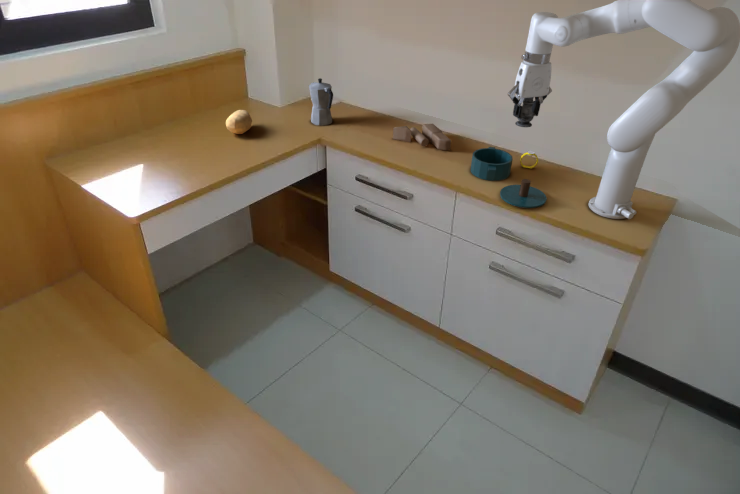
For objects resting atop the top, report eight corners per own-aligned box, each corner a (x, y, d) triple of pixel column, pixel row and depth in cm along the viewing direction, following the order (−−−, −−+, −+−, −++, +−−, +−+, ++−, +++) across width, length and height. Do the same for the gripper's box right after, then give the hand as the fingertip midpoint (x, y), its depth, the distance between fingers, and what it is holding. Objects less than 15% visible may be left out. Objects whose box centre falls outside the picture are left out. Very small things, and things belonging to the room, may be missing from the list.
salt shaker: (533, 128, 163) (541, 91, 156) (514, 126, 164) (521, 89, 157) (532, 121, 168) (540, 85, 161) (514, 120, 169) (521, 83, 162)
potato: (256, 125, 211) (254, 106, 206) (248, 139, 199) (246, 119, 195) (233, 124, 211) (230, 105, 207) (223, 138, 200) (220, 118, 195)
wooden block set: (432, 119, 204) (452, 137, 190) (431, 133, 207) (450, 151, 193) (392, 124, 199) (410, 142, 185) (391, 137, 202) (409, 156, 188)
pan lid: (543, 190, 169) (547, 173, 165) (548, 212, 157) (552, 194, 153) (499, 185, 171) (502, 168, 167) (500, 207, 159) (503, 189, 155)
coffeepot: (303, 119, 217) (301, 76, 207) (322, 114, 222) (321, 72, 212) (323, 130, 207) (321, 86, 197) (342, 125, 212) (342, 82, 202)
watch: (518, 168, 182) (522, 152, 178) (518, 165, 184) (521, 149, 180) (536, 170, 181) (539, 154, 177) (535, 166, 183) (539, 151, 179)
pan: (508, 162, 186) (511, 146, 182) (510, 186, 170) (513, 169, 167) (471, 158, 188) (473, 143, 184) (469, 182, 172) (472, 165, 169)
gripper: (519, 63, 149) (508, 122, 159) (568, 59, 153) (555, 117, 164) (505, 56, 154) (495, 114, 165) (553, 52, 159) (541, 109, 170)
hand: (525, 115), depth 164 cm, fingers closed on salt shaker, 5 cm apart
